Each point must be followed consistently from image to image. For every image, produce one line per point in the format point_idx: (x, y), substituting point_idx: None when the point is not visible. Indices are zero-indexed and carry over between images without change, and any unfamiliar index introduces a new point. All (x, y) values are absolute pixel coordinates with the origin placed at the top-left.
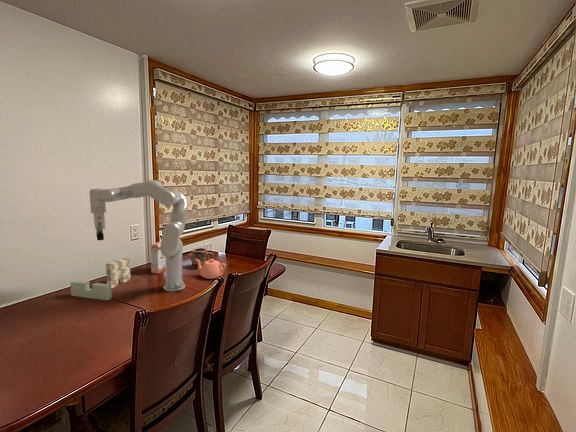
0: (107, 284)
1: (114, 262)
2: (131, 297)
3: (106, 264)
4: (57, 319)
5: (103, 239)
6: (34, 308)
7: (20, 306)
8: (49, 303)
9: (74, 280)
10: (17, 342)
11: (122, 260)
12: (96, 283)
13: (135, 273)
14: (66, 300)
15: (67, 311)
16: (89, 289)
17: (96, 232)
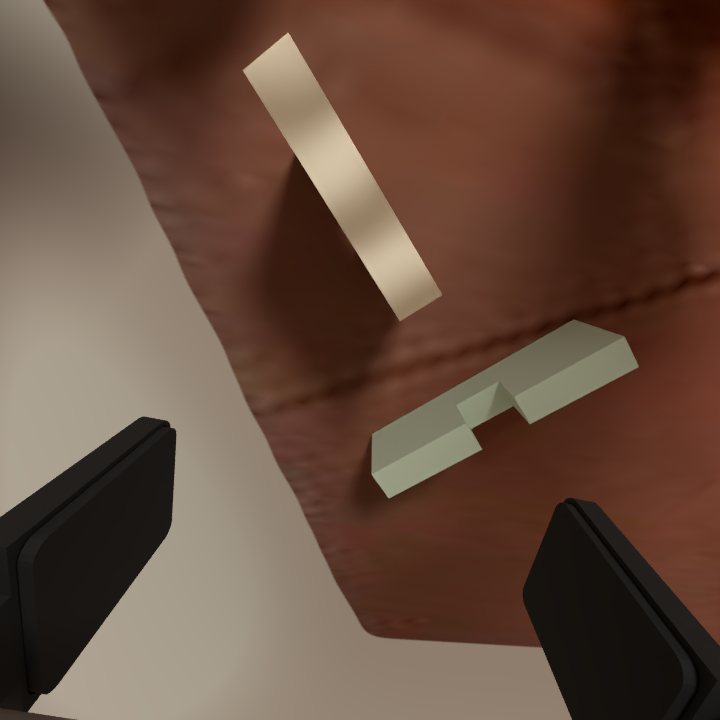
0: (603, 352)
1: (395, 242)
2: (648, 229)
3: (404, 317)
4: (629, 534)
5: (591, 507)
6: (444, 574)
7: (384, 603)
8: (426, 531)
9: (376, 478)
10: (712, 634)
11: (353, 145)
12: (530, 399)
13: (194, 39)
14: (438, 479)
15: (576, 497)
16: (469, 409)
17: (71, 649)
